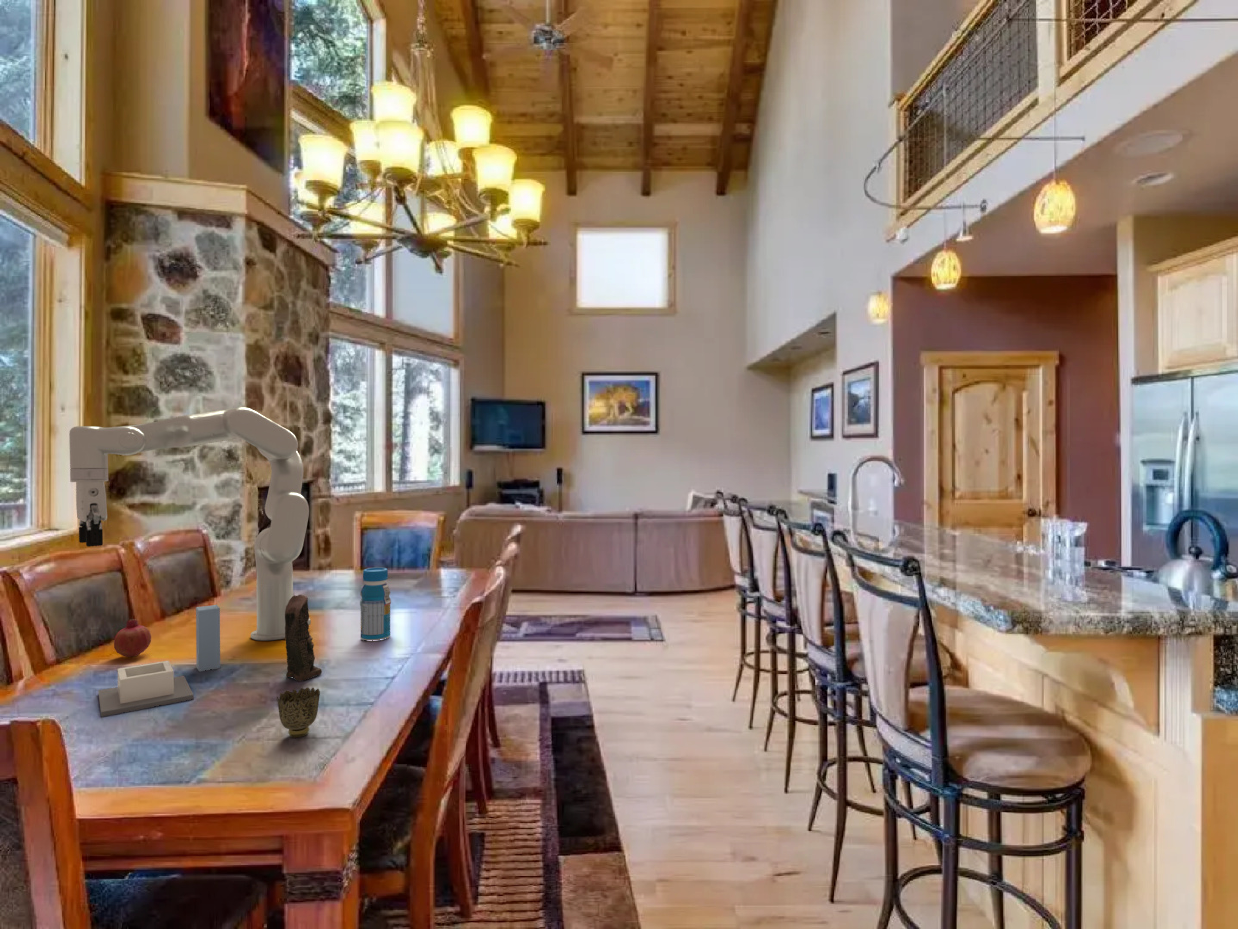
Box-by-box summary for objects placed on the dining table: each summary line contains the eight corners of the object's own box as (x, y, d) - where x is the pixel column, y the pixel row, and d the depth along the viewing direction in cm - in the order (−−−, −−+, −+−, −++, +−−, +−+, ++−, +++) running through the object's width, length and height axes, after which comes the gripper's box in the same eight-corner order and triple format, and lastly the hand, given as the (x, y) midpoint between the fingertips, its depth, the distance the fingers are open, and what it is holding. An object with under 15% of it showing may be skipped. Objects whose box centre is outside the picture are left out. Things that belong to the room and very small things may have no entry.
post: (217, 663, 173) (216, 604, 173) (220, 668, 170) (219, 608, 170) (196, 667, 170) (196, 607, 170) (199, 671, 167) (198, 610, 167)
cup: (286, 727, 134) (286, 687, 134) (325, 726, 134) (325, 686, 134) (270, 743, 126) (270, 701, 126) (311, 742, 127) (311, 699, 127)
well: (183, 679, 161) (183, 654, 161) (193, 699, 148) (193, 671, 148) (98, 694, 151) (98, 667, 151) (101, 717, 138) (101, 687, 138)
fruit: (131, 662, 174) (131, 623, 173) (105, 660, 175) (105, 622, 175) (159, 653, 182) (158, 616, 181) (133, 651, 183) (133, 614, 183)
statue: (323, 674, 165) (322, 592, 165) (300, 683, 159) (300, 598, 158) (300, 671, 168) (300, 590, 167) (277, 680, 161) (276, 596, 160)
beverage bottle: (366, 644, 191) (366, 573, 191) (355, 637, 198) (355, 569, 197) (395, 638, 197) (395, 569, 197) (384, 632, 203) (383, 565, 203)
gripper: (115, 476, 167) (116, 545, 168) (101, 474, 179) (102, 539, 179) (76, 477, 162) (77, 549, 162) (64, 475, 174) (66, 542, 174)
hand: (90, 544), depth 171 cm, fingers open, 9 cm apart
